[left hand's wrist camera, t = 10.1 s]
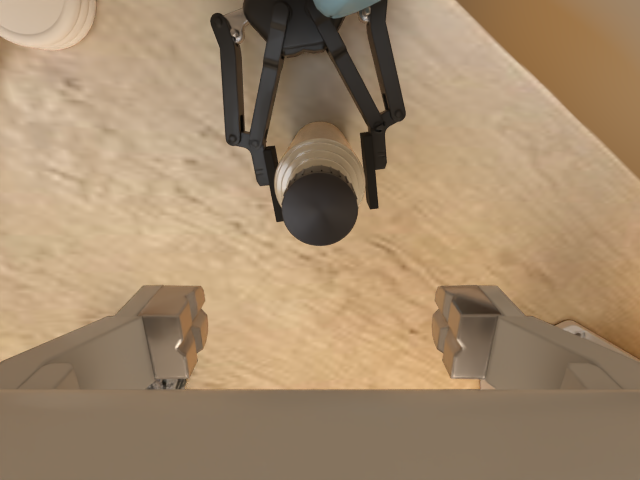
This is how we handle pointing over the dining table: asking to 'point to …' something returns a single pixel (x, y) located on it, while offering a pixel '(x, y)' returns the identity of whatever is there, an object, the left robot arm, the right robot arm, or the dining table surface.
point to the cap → (319, 206)
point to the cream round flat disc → (46, 22)
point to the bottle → (319, 157)
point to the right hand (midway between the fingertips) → (326, 210)
